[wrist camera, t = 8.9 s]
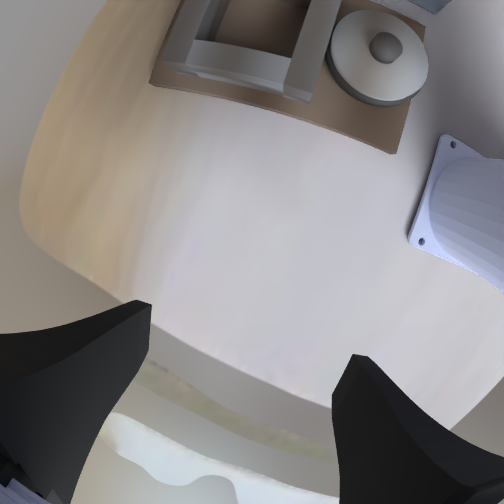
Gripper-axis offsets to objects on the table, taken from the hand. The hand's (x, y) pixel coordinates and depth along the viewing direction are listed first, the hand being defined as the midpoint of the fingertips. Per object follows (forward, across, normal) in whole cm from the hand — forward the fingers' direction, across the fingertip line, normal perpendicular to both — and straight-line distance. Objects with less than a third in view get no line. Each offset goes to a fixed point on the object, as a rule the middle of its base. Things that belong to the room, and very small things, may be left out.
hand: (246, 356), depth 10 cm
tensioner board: (+10, +2, -14) cm, 18 cm away
